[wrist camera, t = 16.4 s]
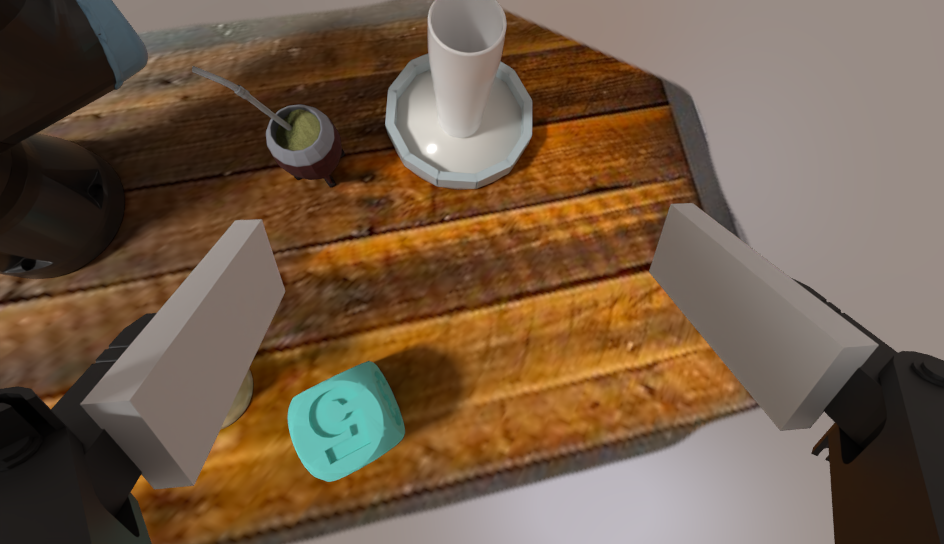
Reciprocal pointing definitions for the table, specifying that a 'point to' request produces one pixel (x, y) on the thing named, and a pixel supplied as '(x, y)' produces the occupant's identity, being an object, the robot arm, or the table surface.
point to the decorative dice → (345, 422)
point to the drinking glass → (464, 60)
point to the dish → (451, 156)
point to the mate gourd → (296, 136)
